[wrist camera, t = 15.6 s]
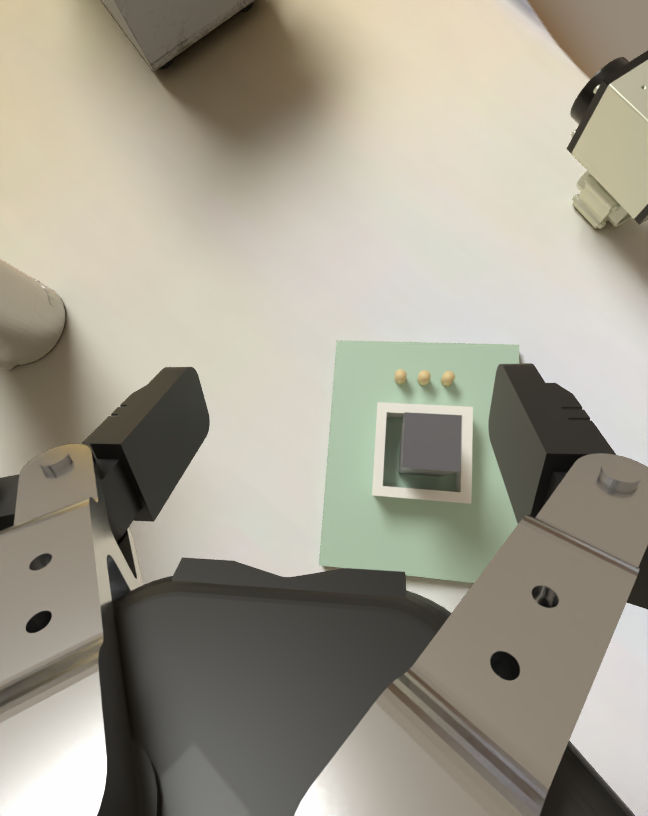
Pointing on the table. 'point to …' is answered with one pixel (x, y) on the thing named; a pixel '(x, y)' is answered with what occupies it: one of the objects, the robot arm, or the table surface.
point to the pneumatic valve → (613, 143)
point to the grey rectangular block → (430, 444)
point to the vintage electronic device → (170, 24)
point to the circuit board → (406, 493)
